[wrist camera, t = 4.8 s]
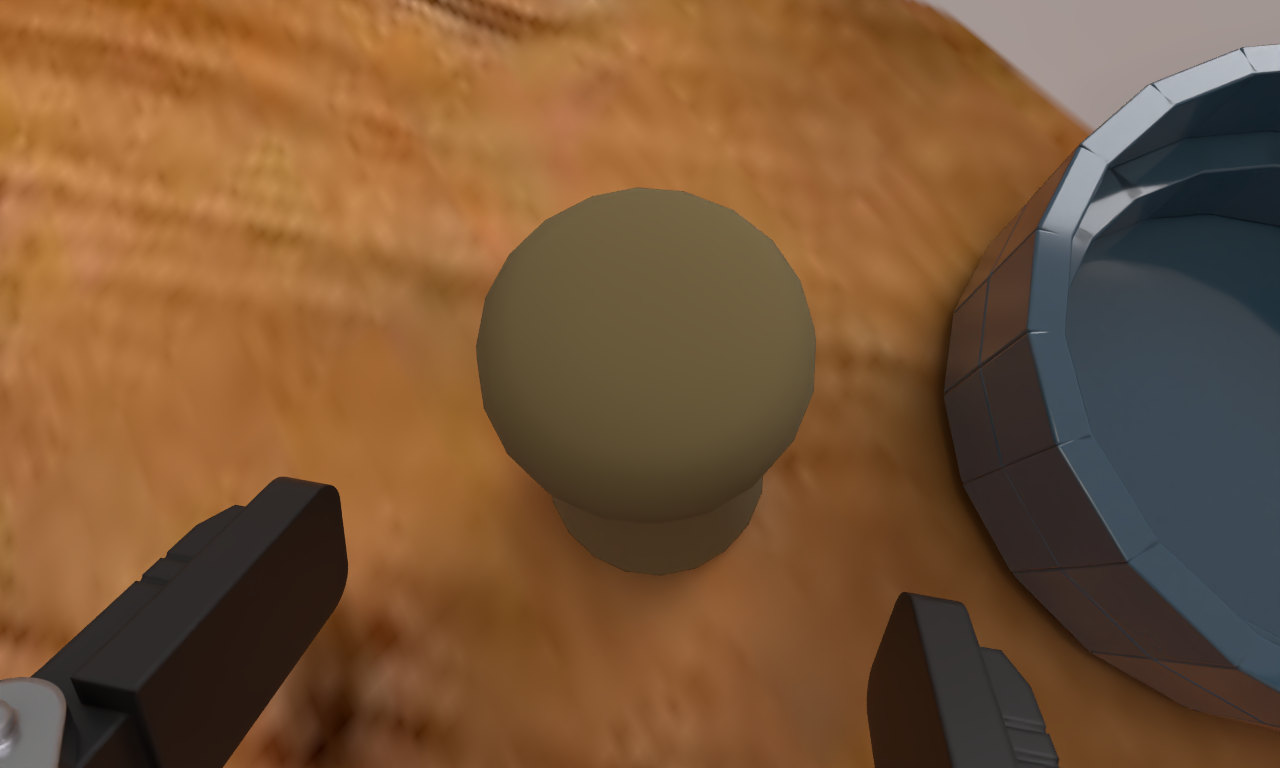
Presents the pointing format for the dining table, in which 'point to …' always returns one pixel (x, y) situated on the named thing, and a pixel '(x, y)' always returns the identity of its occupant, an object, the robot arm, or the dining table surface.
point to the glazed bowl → (1142, 389)
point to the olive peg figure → (647, 371)
